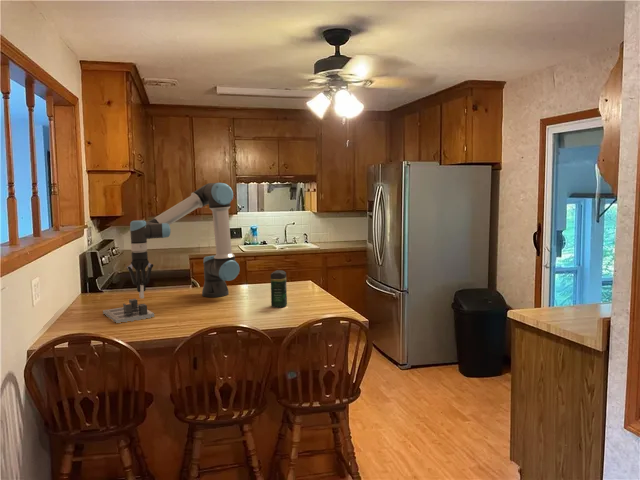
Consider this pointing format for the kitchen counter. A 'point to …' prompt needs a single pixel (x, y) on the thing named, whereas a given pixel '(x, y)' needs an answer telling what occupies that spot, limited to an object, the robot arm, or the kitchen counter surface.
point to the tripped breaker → (127, 307)
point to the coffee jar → (278, 289)
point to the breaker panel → (136, 314)
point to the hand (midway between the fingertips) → (141, 297)
